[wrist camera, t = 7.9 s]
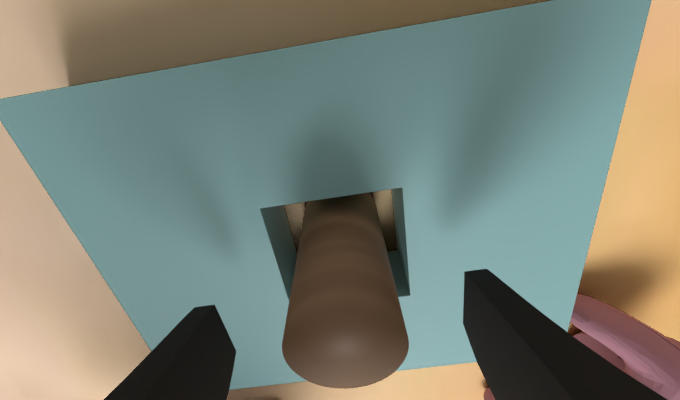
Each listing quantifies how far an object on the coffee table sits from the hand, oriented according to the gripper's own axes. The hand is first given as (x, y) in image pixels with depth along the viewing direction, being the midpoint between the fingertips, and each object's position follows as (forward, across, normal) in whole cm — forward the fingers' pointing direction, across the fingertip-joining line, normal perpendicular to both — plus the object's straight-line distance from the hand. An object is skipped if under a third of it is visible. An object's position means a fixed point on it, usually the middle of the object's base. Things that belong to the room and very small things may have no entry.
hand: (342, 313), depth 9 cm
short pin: (+6, 0, 0) cm, 6 cm away
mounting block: (+6, 0, 0) cm, 6 cm away
